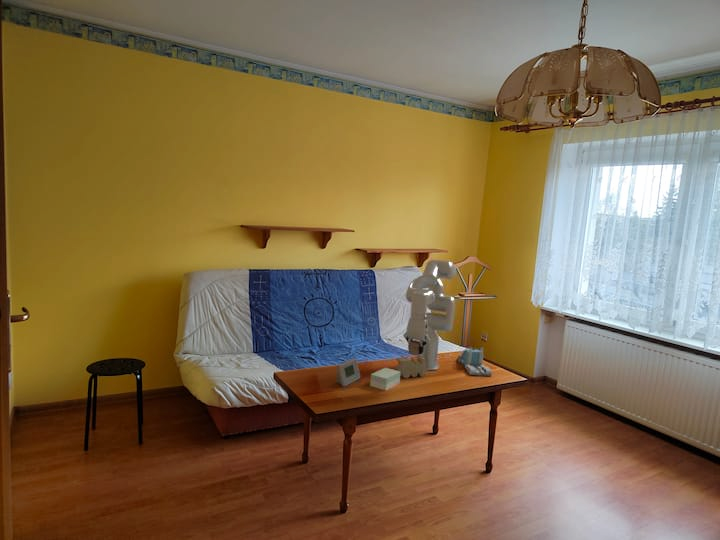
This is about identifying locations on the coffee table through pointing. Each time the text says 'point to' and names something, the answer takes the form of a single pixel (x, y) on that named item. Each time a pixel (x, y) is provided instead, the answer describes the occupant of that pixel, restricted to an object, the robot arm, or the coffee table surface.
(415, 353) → the walnut brick
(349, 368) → the digital clock
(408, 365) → the toy train
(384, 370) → the base brick
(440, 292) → the robot arm
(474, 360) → the truck
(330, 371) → the coffee table surface
